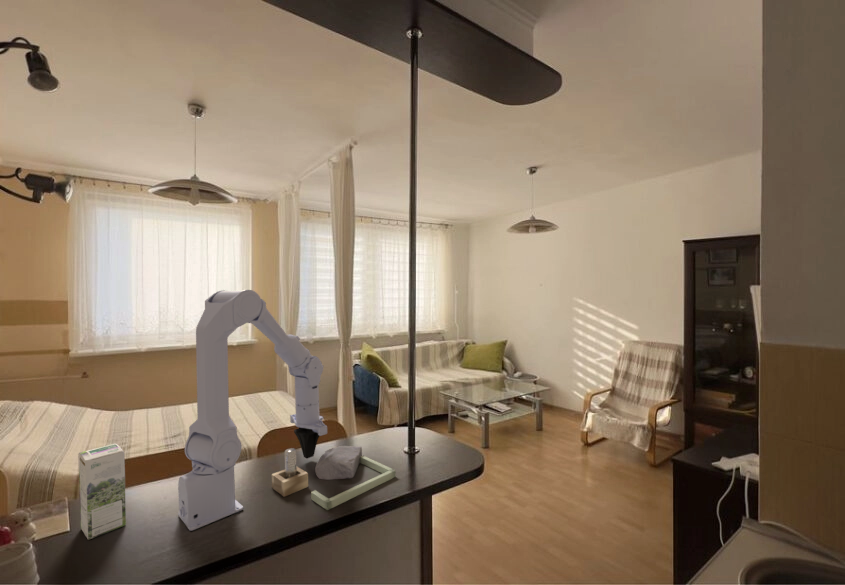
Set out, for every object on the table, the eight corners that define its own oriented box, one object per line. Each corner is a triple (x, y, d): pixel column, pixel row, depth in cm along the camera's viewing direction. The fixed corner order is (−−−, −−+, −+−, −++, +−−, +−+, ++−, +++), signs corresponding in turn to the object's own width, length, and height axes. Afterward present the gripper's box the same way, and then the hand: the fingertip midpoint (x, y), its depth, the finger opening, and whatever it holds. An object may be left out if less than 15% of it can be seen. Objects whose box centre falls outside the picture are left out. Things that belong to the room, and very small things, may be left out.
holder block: (284, 496, 82) (283, 482, 82) (272, 487, 86) (271, 474, 86) (308, 486, 86) (307, 473, 86) (295, 478, 90) (295, 465, 90)
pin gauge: (298, 486, 86) (297, 450, 86) (288, 490, 85) (286, 453, 85) (294, 482, 88) (293, 447, 88) (283, 486, 87) (282, 450, 87)
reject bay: (327, 510, 77) (327, 502, 77) (296, 489, 85) (296, 482, 85) (395, 476, 90) (395, 470, 90) (363, 461, 98) (363, 455, 98)
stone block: (314, 488, 90) (356, 479, 89) (309, 467, 90) (352, 458, 89) (327, 466, 101) (365, 458, 101) (323, 448, 102) (361, 439, 101)
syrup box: (118, 515, 77) (115, 441, 77) (127, 526, 74) (124, 448, 73) (80, 529, 73) (77, 451, 73) (87, 541, 69) (84, 459, 69)
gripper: (337, 404, 97) (338, 459, 97) (306, 394, 107) (308, 444, 107) (311, 411, 92) (313, 469, 92) (282, 400, 102) (283, 452, 102)
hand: (308, 456), depth 99 cm, fingers closed
